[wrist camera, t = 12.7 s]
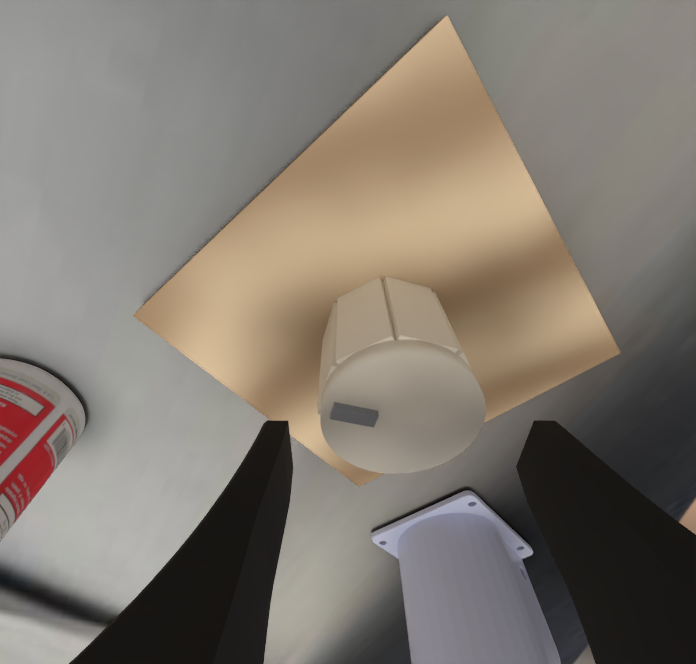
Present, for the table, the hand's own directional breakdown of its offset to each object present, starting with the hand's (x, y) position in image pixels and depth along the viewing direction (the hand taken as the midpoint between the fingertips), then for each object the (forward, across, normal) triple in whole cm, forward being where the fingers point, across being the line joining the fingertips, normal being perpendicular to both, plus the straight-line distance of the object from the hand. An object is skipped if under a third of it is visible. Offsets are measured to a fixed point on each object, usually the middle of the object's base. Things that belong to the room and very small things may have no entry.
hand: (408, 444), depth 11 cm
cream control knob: (+6, 0, 0) cm, 6 cm away
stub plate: (+7, 0, 0) cm, 7 cm away
